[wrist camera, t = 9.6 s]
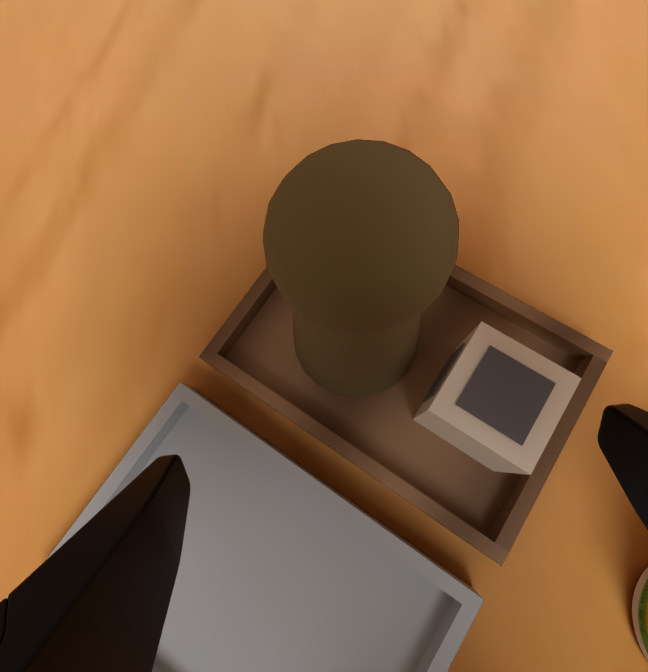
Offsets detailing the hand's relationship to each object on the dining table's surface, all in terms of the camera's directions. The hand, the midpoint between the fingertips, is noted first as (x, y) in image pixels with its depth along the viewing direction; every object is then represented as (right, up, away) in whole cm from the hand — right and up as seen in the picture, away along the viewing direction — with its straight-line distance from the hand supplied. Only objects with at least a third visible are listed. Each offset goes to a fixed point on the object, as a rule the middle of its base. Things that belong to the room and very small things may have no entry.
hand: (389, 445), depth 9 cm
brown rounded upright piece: (0, +2, +12) cm, 12 cm away
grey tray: (-4, -8, +9) cm, 13 cm away
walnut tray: (+2, +1, +11) cm, 12 cm away
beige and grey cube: (+5, -1, +10) cm, 11 cm away
